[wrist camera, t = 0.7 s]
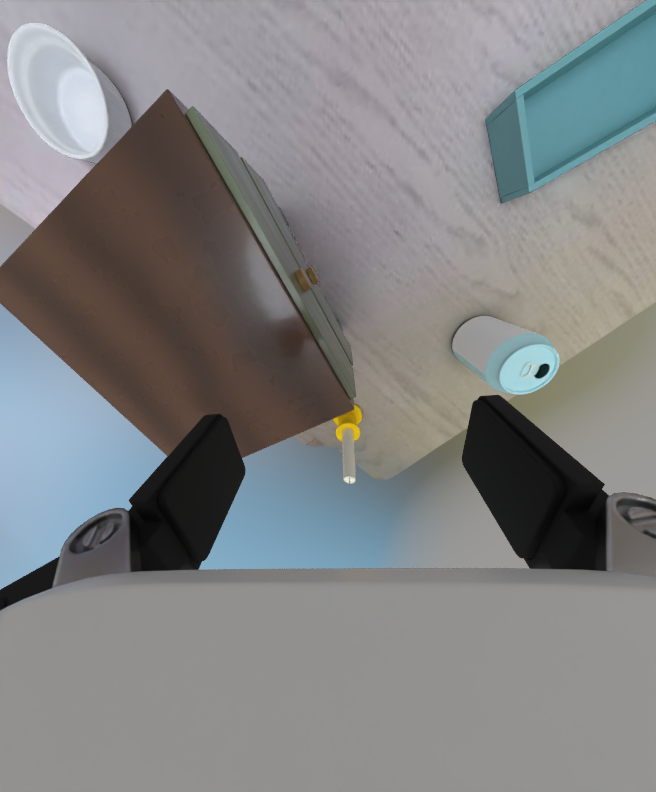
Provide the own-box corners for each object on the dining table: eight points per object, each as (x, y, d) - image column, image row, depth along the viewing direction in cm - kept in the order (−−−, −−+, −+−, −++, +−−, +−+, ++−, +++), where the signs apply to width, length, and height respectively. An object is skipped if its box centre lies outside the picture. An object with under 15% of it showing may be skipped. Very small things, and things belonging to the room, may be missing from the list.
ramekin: (38, 105, 27) (-12, 79, 23) (81, 29, 24) (32, -15, 20) (111, 191, 30) (78, 181, 26) (155, 133, 27) (125, 112, 23)
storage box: (709, -32, 21) (807, -111, 16) (697, 89, 24) (777, 50, 19) (485, 119, 26) (515, 90, 21) (500, 203, 29) (529, 193, 24)
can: (493, 304, 34) (561, 324, 23) (506, 347, 37) (572, 381, 26) (443, 331, 36) (485, 360, 26) (459, 369, 39) (502, 409, 28)
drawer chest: (287, 195, 29) (184, 69, 10) (353, 329, 37) (367, 404, 17) (185, 272, 34) (-20, 286, 15) (262, 377, 41) (192, 479, 22)
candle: (352, 430, 45) (357, 503, 32) (327, 419, 45) (321, 489, 31) (367, 410, 43) (379, 478, 30) (341, 397, 42) (341, 462, 29)
